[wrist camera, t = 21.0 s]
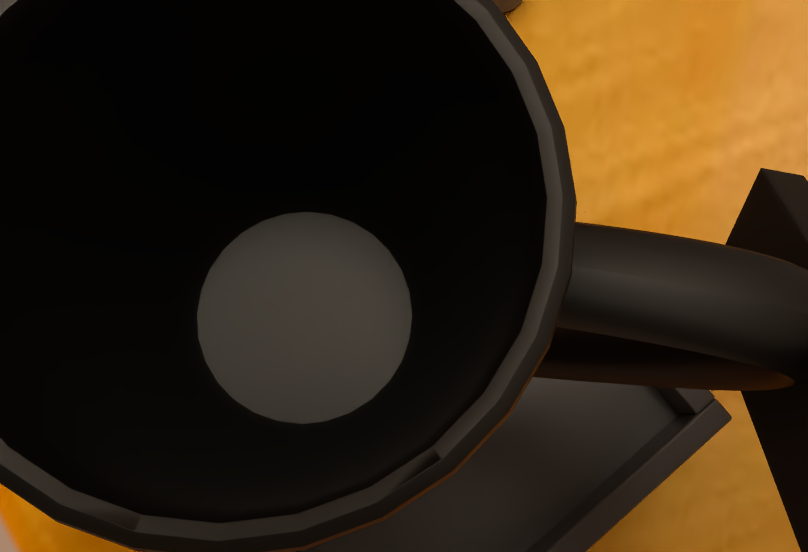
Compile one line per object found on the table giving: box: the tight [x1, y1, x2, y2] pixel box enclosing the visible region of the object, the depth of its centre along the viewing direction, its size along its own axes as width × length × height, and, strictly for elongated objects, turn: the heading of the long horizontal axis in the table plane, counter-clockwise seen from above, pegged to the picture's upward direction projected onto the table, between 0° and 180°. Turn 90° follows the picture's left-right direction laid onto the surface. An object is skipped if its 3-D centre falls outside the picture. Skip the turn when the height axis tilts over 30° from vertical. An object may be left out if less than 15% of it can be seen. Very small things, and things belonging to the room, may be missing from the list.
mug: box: [0, 0, 808, 552], centre depth 13 cm, size 8×12×10 cm
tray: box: [291, 377, 732, 552], centre depth 24 cm, size 17×14×2 cm
